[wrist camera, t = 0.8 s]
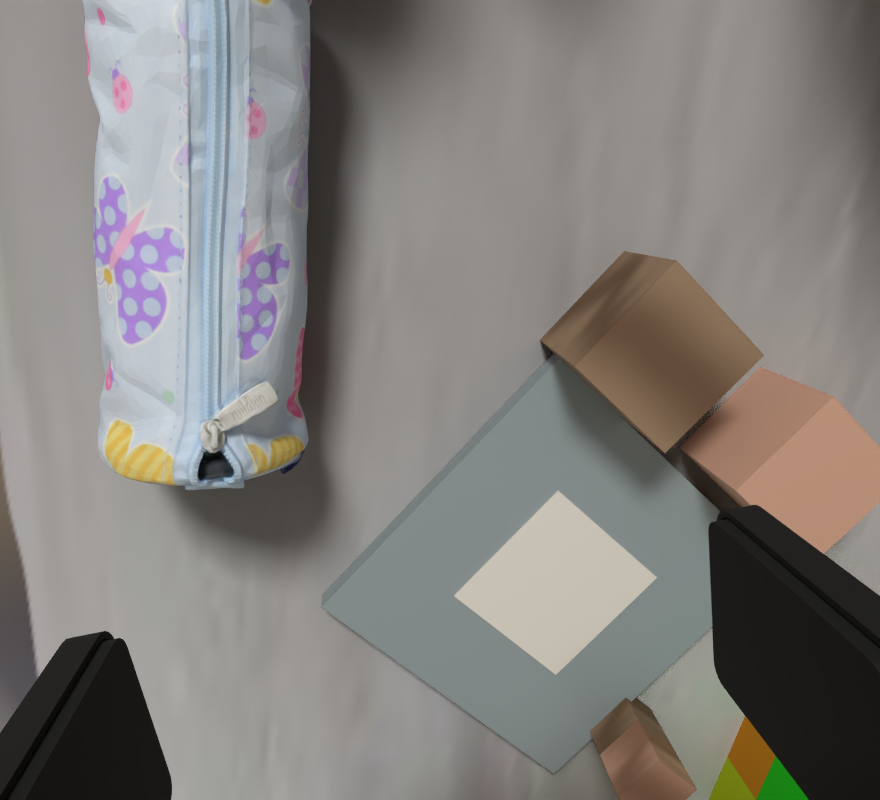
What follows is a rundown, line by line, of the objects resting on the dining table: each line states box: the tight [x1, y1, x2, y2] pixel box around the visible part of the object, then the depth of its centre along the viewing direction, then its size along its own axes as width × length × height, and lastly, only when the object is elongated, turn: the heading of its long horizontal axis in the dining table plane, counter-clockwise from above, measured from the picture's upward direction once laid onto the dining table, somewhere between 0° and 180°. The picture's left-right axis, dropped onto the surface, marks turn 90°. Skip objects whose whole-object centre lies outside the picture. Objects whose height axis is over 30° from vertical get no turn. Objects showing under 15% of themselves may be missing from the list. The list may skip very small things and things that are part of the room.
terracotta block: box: [679, 367, 880, 554], centre depth 35 cm, size 6×6×6 cm
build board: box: [321, 353, 720, 774], centre depth 38 cm, size 18×18×1 cm
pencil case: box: [83, 0, 312, 490], centre depth 27 cm, size 21×9×10 cm, turn 175°
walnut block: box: [540, 251, 764, 453], centre depth 32 cm, size 6×6×6 cm
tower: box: [590, 698, 697, 800], centre depth 39 cm, size 3×3×6 cm
